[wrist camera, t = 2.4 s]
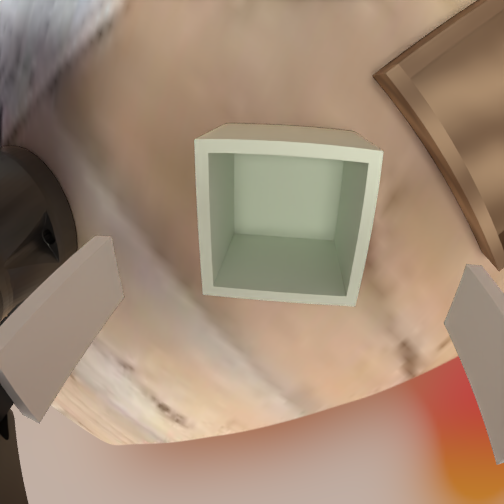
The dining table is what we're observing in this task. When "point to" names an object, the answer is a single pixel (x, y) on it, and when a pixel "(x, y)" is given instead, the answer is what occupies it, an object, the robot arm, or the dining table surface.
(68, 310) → the robot arm
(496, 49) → the walnut tray
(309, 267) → the sage crate
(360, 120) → the dining table surface
